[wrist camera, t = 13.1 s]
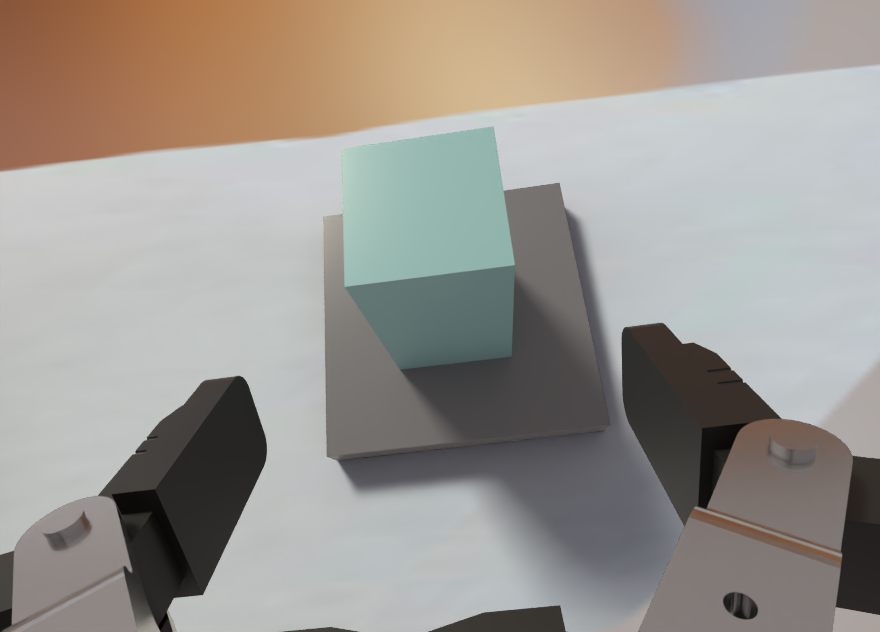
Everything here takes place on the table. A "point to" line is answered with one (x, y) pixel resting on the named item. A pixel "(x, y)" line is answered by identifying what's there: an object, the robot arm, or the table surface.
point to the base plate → (476, 382)
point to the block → (430, 247)
